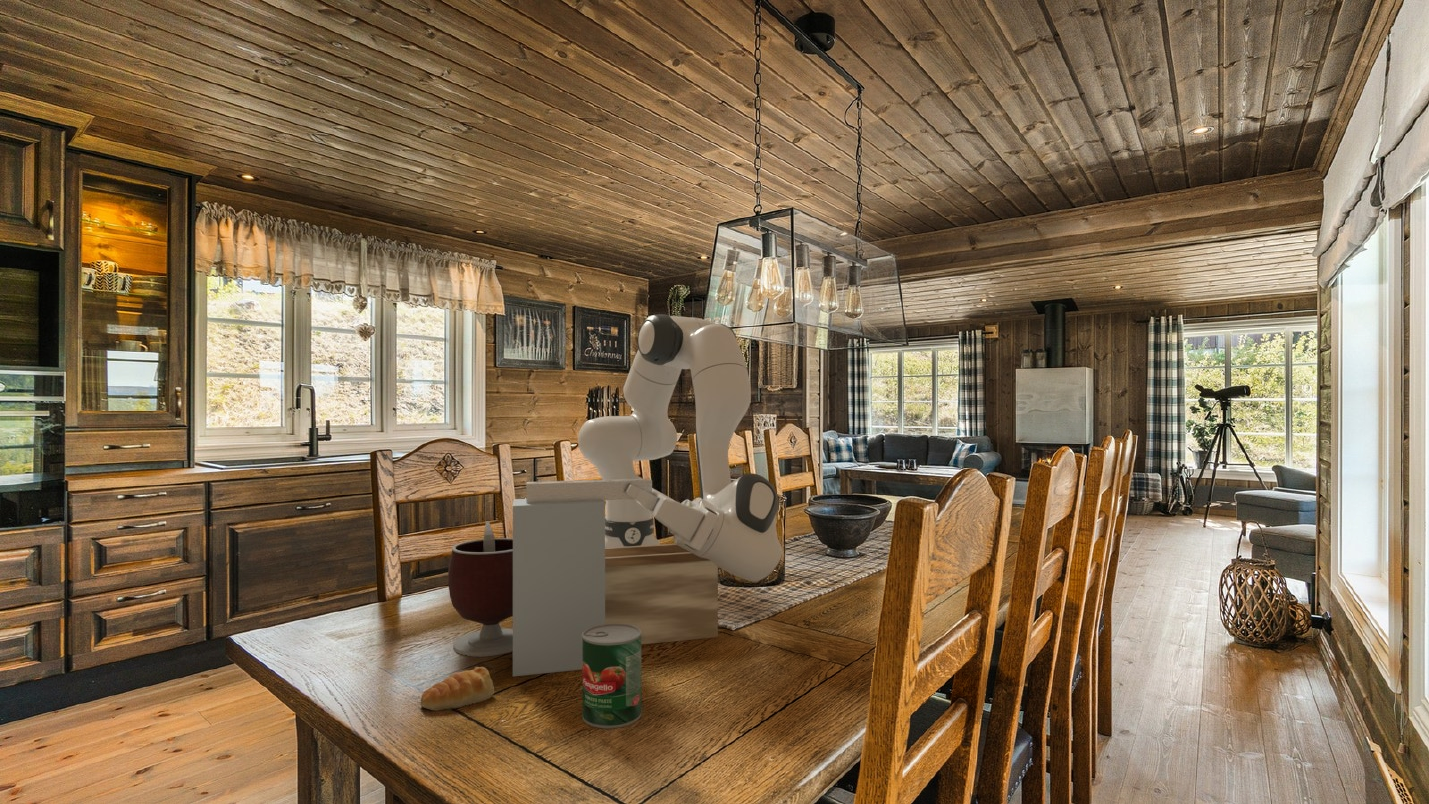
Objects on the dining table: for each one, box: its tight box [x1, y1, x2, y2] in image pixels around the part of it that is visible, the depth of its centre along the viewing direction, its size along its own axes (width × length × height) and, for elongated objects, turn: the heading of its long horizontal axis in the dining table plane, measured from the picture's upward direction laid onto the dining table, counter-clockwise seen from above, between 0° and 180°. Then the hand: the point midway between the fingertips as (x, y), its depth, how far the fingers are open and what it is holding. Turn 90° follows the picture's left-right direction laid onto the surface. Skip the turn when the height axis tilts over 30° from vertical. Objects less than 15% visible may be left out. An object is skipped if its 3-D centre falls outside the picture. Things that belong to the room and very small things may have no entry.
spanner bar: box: [525, 478, 653, 503], centre depth 110 cm, size 3×20×3 cm, turn 106°
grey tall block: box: [512, 498, 606, 677], centre depth 109 cm, size 8×14×26 cm, turn 106°
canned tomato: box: [581, 623, 643, 730], centre depth 90 cm, size 8×8×11 cm
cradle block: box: [605, 543, 719, 645], centre depth 123 cm, size 11×23×15 cm, turn 106°
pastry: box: [419, 666, 495, 712], centre depth 95 cm, size 9×7×4 cm
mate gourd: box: [447, 520, 513, 658], centre depth 118 cm, size 16×14×20 cm
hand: (625, 486), depth 112 cm, fingers open, 5 cm apart
